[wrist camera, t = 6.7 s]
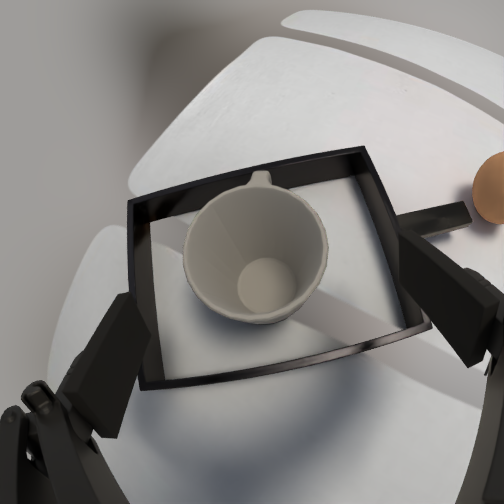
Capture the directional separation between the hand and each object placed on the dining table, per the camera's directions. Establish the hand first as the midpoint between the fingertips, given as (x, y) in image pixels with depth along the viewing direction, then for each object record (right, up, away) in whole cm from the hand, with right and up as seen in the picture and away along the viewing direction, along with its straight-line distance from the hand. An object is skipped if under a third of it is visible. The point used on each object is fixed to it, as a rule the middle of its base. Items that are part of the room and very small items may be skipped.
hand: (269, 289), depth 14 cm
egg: (+22, +6, +9) cm, 24 cm away
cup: (+1, 0, +10) cm, 10 cm away
